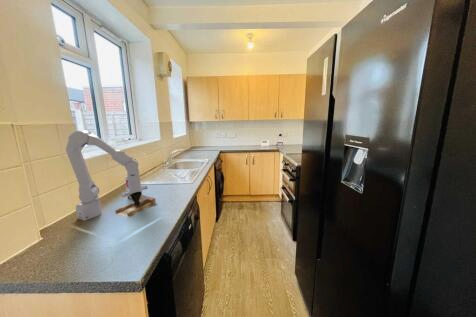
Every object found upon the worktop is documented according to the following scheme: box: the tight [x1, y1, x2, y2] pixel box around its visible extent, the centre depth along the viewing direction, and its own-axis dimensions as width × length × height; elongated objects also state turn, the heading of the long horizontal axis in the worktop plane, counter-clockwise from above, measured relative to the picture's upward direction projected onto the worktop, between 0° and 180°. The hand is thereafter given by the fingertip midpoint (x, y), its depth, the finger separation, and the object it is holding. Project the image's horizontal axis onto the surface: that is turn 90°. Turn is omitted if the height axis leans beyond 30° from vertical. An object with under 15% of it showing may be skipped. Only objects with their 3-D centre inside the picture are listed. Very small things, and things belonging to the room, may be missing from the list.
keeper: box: [134, 197, 149, 207], centre depth 110 cm, size 5×6×4 cm
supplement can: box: [124, 175, 143, 200], centre depth 122 cm, size 8×8×15 cm
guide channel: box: [112, 195, 158, 218], centre depth 106 cm, size 18×13×4 cm
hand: (136, 205), depth 107 cm, fingers closed
